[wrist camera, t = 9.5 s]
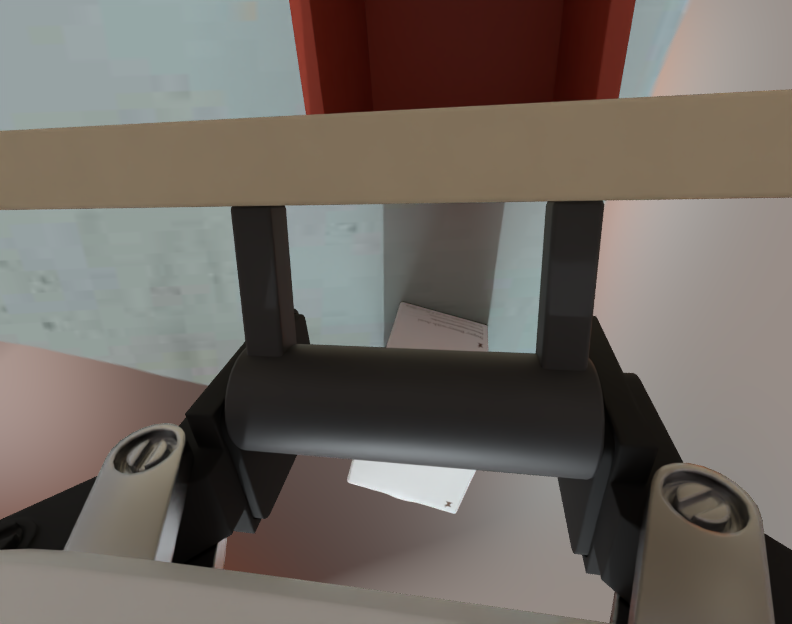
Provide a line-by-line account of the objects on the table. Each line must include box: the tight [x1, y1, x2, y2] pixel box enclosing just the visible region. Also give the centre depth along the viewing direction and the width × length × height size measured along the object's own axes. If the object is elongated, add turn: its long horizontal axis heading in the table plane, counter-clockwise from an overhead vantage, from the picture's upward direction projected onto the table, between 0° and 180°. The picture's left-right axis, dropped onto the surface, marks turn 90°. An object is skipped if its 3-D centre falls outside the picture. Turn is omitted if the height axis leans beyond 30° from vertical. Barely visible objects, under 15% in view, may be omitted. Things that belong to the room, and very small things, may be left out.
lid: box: [0, 89, 792, 480], centre depth 14 cm, size 19×15×5 cm
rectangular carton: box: [347, 302, 488, 514], centre depth 37 cm, size 9×9×15 cm
